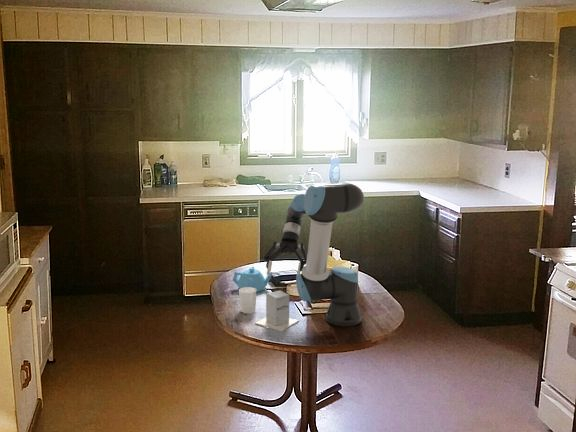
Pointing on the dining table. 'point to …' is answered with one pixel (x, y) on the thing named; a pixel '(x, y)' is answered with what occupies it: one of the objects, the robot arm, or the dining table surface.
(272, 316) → the supplement box
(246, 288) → the white cup
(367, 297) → the dining table surface
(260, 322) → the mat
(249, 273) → the teapot
